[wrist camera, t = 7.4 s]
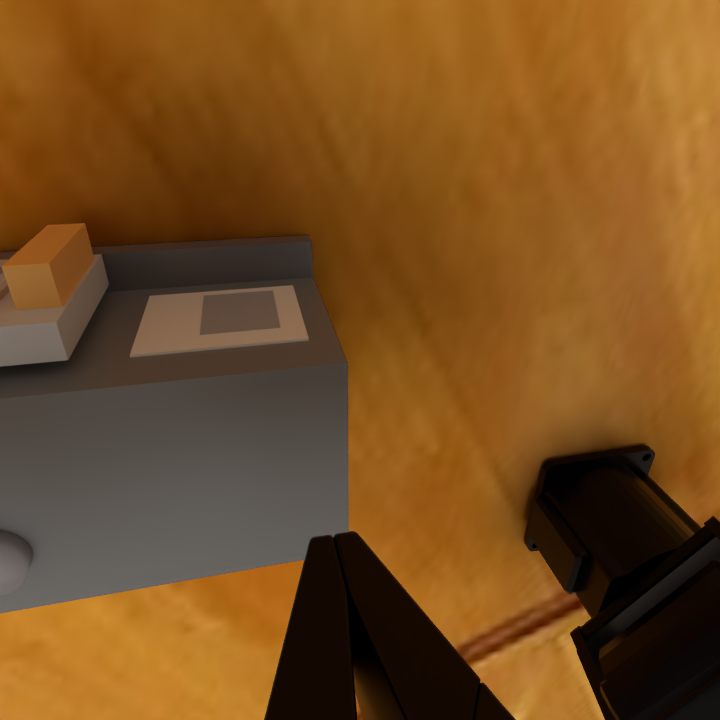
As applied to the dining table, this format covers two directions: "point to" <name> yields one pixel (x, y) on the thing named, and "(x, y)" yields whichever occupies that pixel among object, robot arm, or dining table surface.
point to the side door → (49, 295)
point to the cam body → (176, 426)
